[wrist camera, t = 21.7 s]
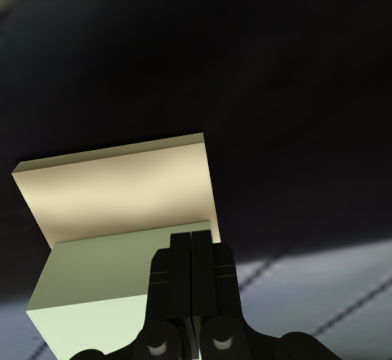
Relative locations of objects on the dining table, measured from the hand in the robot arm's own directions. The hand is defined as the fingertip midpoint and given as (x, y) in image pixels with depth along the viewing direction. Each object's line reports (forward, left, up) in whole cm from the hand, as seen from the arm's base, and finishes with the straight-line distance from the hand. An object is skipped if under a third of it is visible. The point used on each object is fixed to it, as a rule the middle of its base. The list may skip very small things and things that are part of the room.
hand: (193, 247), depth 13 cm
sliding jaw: (+12, -6, -11) cm, 17 cm away
